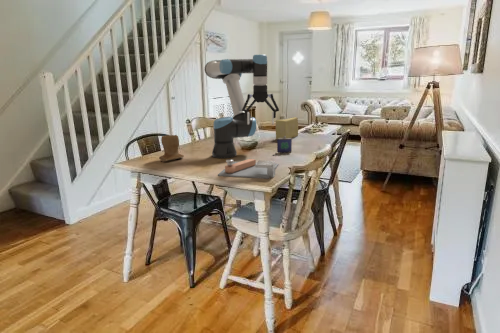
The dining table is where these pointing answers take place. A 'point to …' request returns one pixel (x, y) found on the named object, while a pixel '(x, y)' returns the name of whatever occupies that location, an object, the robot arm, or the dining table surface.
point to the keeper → (269, 165)
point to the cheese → (287, 128)
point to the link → (240, 165)
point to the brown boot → (170, 148)
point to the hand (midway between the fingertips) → (260, 124)
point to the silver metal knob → (229, 162)
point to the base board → (248, 172)
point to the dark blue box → (284, 145)
